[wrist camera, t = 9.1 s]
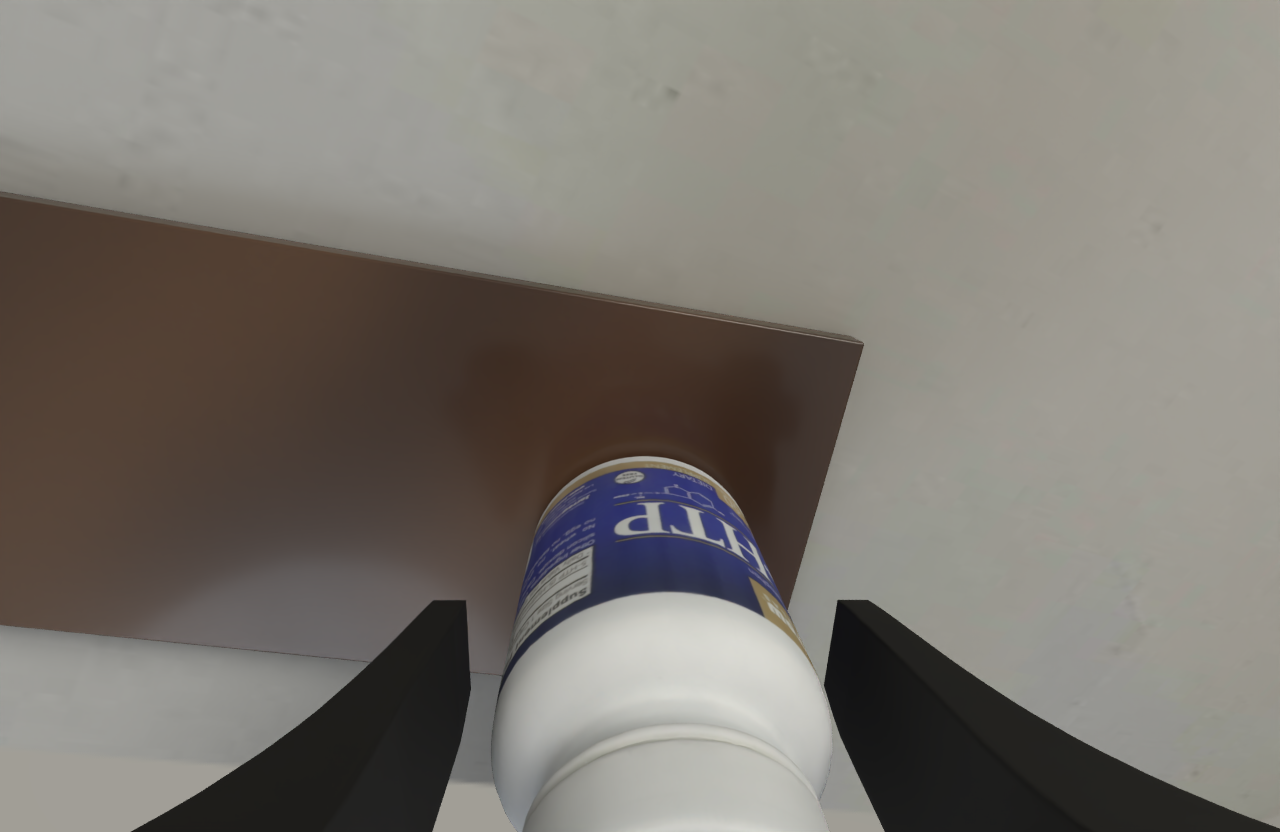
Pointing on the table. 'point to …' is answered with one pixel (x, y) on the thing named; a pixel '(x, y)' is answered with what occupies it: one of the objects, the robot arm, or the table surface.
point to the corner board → (349, 430)
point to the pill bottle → (656, 668)
